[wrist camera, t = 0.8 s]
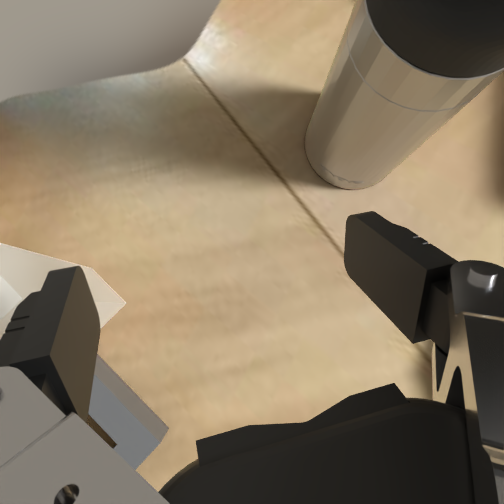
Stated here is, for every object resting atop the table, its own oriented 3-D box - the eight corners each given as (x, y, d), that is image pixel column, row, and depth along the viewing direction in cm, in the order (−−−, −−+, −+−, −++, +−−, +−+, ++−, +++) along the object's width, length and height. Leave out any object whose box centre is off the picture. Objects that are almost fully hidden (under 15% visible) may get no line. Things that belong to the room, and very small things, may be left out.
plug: (53, 304, 33) (-181, 300, 14) (91, 267, 33) (-86, 219, 15) (88, 340, 32) (-106, 383, 14) (126, 303, 33) (-12, 297, 15)
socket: (-17, 434, 31) (-49, 450, 27) (81, 337, 32) (62, 341, 29) (72, 531, 30) (50, 561, 26) (168, 428, 31) (160, 442, 28)
